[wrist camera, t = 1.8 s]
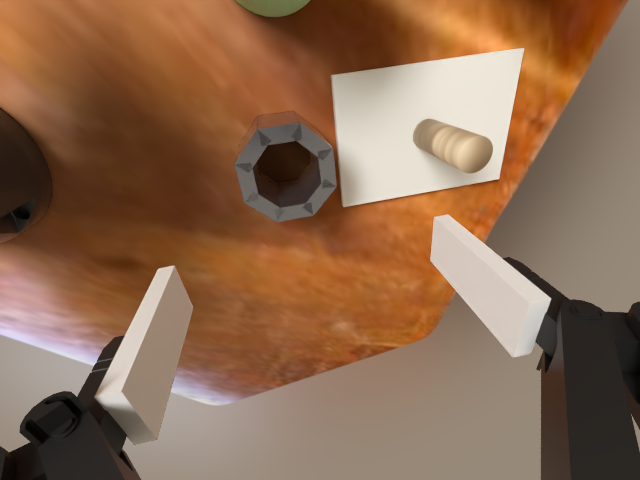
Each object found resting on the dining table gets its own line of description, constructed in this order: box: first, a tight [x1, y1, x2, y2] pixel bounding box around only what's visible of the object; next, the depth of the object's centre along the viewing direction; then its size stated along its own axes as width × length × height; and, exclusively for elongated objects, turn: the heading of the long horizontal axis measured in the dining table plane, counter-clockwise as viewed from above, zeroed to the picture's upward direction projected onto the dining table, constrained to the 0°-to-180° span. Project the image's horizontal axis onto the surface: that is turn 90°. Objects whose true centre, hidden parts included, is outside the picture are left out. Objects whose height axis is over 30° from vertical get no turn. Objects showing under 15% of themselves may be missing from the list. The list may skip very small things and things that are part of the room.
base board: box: [331, 48, 524, 207], centre depth 34 cm, size 20×14×1 cm
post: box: [413, 119, 493, 173], centre depth 30 cm, size 3×3×9 cm
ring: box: [234, 111, 337, 222], centre depth 30 cm, size 9×9×7 cm
